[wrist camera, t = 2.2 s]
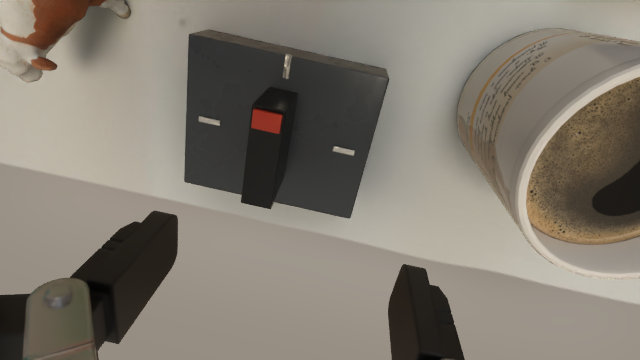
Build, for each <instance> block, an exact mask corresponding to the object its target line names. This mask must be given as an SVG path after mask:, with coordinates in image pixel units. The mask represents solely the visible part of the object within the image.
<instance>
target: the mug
mask: <svg viewBox="0 0 640 360" xmlns="http://www.w3.org/2000/svg"><path fill="white" fill-rule="evenodd" d="M457 126H458V131H459V136H460V138H461V141H462V143H463V146H464V147H465V149H466V150H467V152H468V153H469V155H470V156H471V158H472V159H473V161H474V162H475V164H476V165H477V167H478V168H479V170H480V171H481V173H482V174H483V176H484V177H485V179H486V180H487V182H488V183H489V184H490V186H491V187H492V189H493V190H494V192H495V193H496V195H497V196H498V198H499V199H500V201H501V202H502V204H503V205H504V207H505V208H506V210H507V211H508V213H509V214H510V216H511V217H512V219H513V220H514V222H515V223H516V224H517V226H518V227H519V229H520V230H521V232H522V233H523V235H524V236H525V238H526V239H527V241H528V242H529V244H530V245H531V246H532V247H533V248H534V249H535V250H536V251H537V252H538V253H539V254H540V255H541V256H543V257H544V258H545V259H547V260H548V261H550V262H551V263H553V264H555V265H557V266H559V267H561V268H563V269H565V270H567V271H570V272H573V273H576V274H580V275H583V276H588V277H594V278H600V279H632V278H640V42H639V41H633V40H628V39H622V38H616V37H610V36H604V35H598V34H592V33H587V32H581V31H575V30H568V29H562V28H557V29H543V30H537V31H532V32H529V33H526V34H523V35H520V36H518V37H516V38H514V39H512V40H510V41H507V42H506V43H504V44H503V45H501V46H500V47H498V48H497V49H495V50H494V51H493V52H492V53H491V54H489V55H488V56H487V57H486V58H485V59H484V60H483V61H482V62H481V63H480V64H479V65H478V67H477V68H476V69H475V70H474V72H473V73H472V75H471V76H470V78H469V79H468V81H467V83H466V85H465V87H464V89H463V91H462V94H461V97H460V101H459V105H458V112H457Z"/></svg>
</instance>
